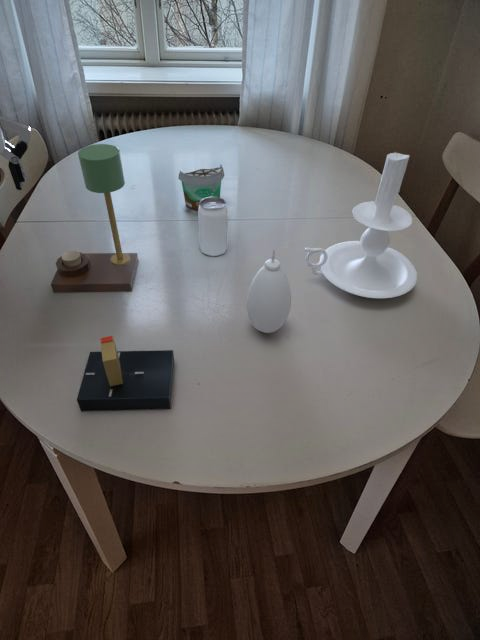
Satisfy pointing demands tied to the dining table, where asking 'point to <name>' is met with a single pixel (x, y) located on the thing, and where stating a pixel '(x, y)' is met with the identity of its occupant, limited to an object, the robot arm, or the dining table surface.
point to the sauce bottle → (269, 297)
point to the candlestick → (372, 244)
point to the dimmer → (129, 382)
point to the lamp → (105, 184)
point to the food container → (201, 185)
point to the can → (212, 226)
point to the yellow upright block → (111, 361)
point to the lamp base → (95, 274)
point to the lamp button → (71, 259)
